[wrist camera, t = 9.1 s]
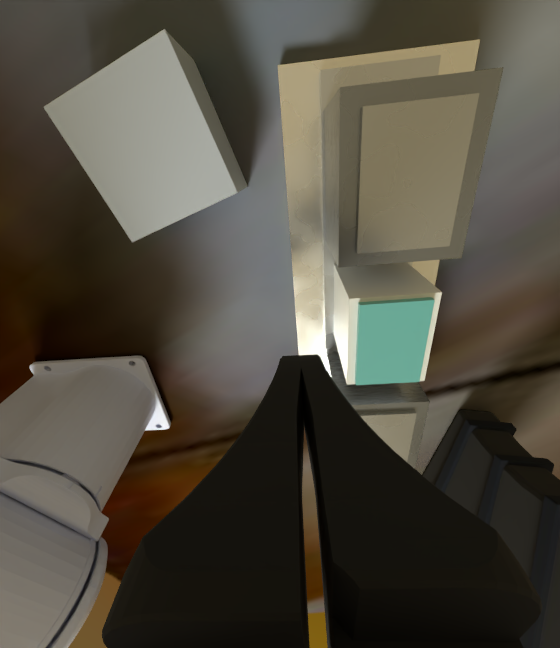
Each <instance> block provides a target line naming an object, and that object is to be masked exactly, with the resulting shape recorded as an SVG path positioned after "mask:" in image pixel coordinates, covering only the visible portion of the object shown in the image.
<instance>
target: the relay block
mask: <svg viewBox="0 0 560 648" xmlns="http://www.w3.org/2000/svg"><path fill="white" fill-rule="evenodd" d="M44 109H45V110H46V112H47V113H48V115H49V117H50V118H51V120H52V121H53V123H54V124H55V126H56V127H57V129H58V130H59V132H60V133H61V135H62V136H63V138H64V139H65V141H66V142H67V144H68V145H69V147H70V149H71V150H72V152H73V153H74V155H75V156H76V158H77V159H78V161H79V162H80V164H81V165H82V167H83V168H84V170H85V171H86V173H87V174H88V176H89V177H90V179H91V180H92V182H93V184H94V185H95V187H96V188H97V190H98V191H99V193H100V194H101V196H102V197H103V199H104V200H105V202H106V203H107V205H108V206H109V208H110V209H111V211H112V212H113V214H114V215H115V217H116V219H117V220H118V222H119V223H120V225H121V226H122V228H123V229H124V231H125V232H126V234H127V235H128V237H129V238H130V240H131V241H132V242H134V241H136V240H138V239H140V238H143V237H145V236H147V235H149V234H151V233H153V232H155V231H157V230H160V229H162V228H164V227H166V226H168V225H170V224H172V223H174V222H176V221H179V220H181V219H183V218H185V217H187V216H189V215H191V214H193V213H196V212H198V211H200V210H202V209H204V208H206V207H208V206H210V205H213V204H215V203H217V202H219V201H221V200H223V199H225V198H227V197H229V196H232V195H234V194H236V193H238V192H240V191H241V190H243V189H244V188H246V187H248V186H247V183H246V181H245V179H244V176H243V174H242V172H241V169H240V167H239V165H238V162H237V160H236V158H235V155H234V153H233V150H232V148H231V146H230V143H229V141H228V139H227V136H226V134H225V132H224V129H223V127H222V125H221V122H220V120H219V118H218V115H217V113H216V111H215V108H214V106H213V104H212V101H211V99H210V97H209V94H208V92H207V90H206V87H205V85H204V82H203V80H202V78H201V75H200V73H199V71H198V68H197V66H196V64H195V61H194V60H193V59H192V58H191V57H190V56H189V54H188V53H187V52H186V51H185V50H184V49H183V48H182V47H181V46H180V45H179V44H178V43H177V42H176V41H175V40H174V38H173V37H172V36H171V35H170V34H169V33H168V32H167V31H166V30H165V29H164V30H162V31H160V32H159V33H157V34H156V35H154V36H153V37H151V38H150V39H148V40H146V41H145V42H143V43H142V44H140V45H139V46H137V47H136V48H134V49H133V50H131V51H129V52H128V53H126V54H125V55H123V56H122V57H120V58H119V59H117V60H115V61H114V62H112V63H111V64H109V65H108V66H106V67H105V68H103V69H102V70H100V71H98V72H97V73H95V74H94V75H92V76H91V77H89V78H88V79H86V80H85V81H83V82H81V83H80V84H78V85H77V86H75V87H74V88H72V89H71V90H69V91H67V92H66V93H64V94H63V95H61V96H60V97H58V98H57V99H55V100H54V101H52V102H50V103H49V104H47V105H46V106H44Z"/></svg>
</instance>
